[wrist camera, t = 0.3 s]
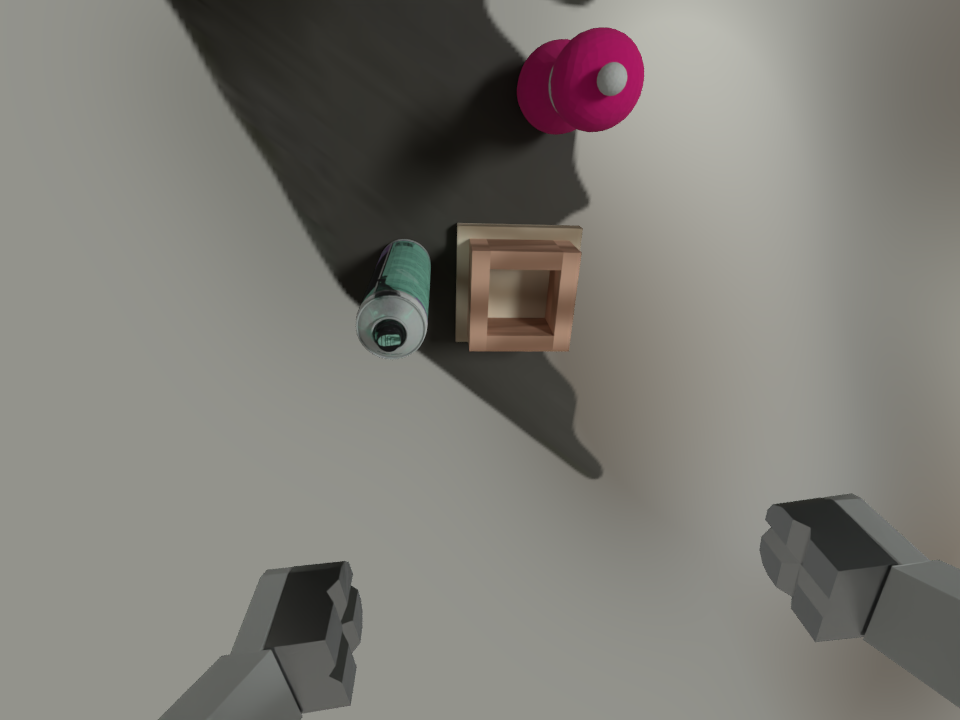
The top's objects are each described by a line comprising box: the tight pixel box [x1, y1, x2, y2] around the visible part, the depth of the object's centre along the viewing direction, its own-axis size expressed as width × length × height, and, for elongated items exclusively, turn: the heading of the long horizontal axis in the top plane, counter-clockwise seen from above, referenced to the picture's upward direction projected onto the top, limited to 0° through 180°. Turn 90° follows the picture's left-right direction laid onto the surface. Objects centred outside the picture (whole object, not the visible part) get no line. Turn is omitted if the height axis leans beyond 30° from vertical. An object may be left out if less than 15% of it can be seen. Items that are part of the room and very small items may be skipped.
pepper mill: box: [517, 28, 644, 134], centre depth 38 cm, size 7×7×20 cm
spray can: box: [356, 239, 431, 359], centre depth 44 cm, size 6×6×20 cm
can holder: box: [455, 223, 583, 351], centre depth 52 cm, size 13×13×6 cm
